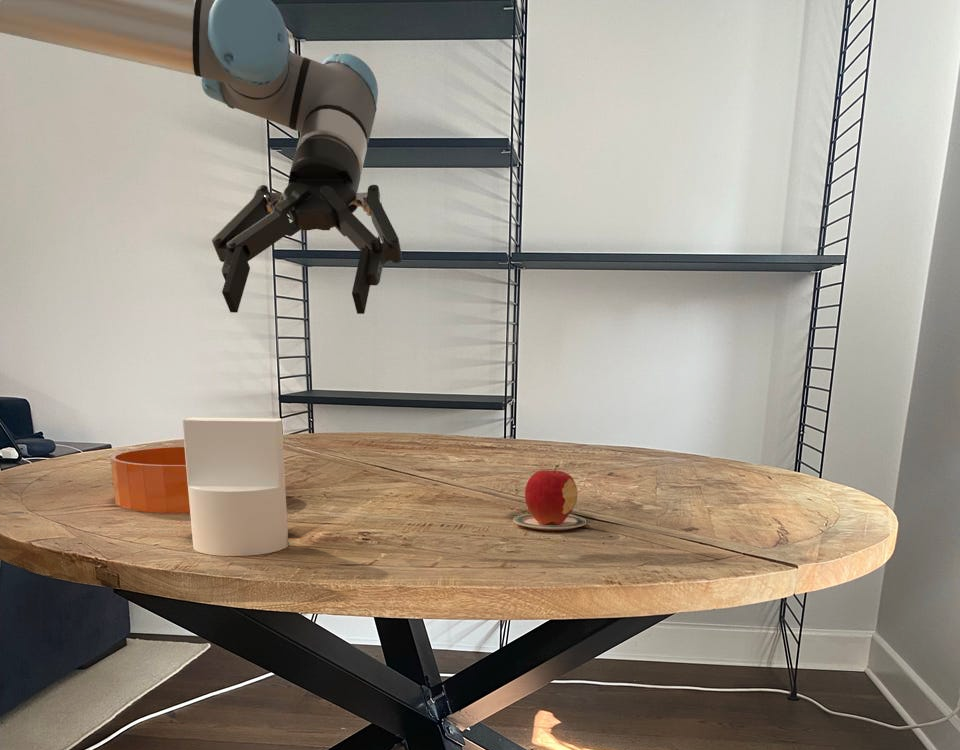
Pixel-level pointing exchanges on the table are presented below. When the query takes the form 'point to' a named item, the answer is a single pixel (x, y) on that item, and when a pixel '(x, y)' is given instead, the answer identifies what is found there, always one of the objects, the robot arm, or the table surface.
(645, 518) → the table surface
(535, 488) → the apple
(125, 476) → the orange shallow round tray
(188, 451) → the cylinder with rectangular tab
